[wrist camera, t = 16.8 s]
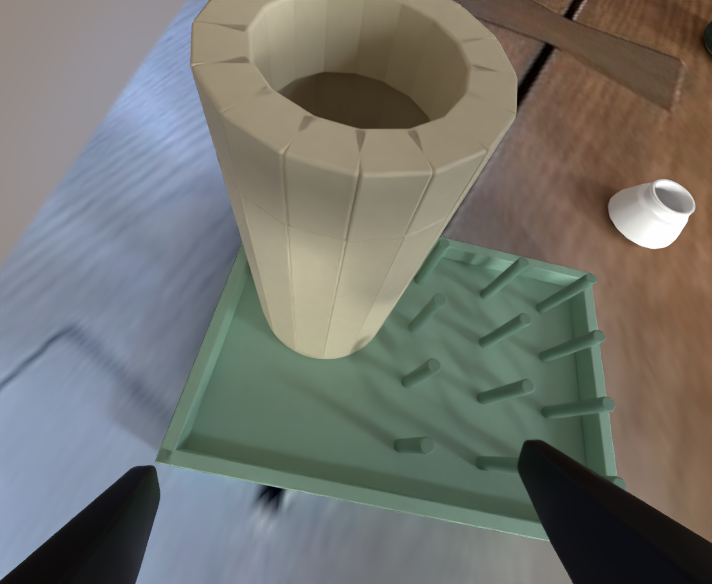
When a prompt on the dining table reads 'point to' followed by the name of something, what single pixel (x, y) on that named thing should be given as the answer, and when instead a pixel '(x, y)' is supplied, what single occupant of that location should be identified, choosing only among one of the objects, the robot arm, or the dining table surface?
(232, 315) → the dish rack
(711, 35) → the coffee jar
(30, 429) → the dining table surface
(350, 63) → the beige cylindrical vase
